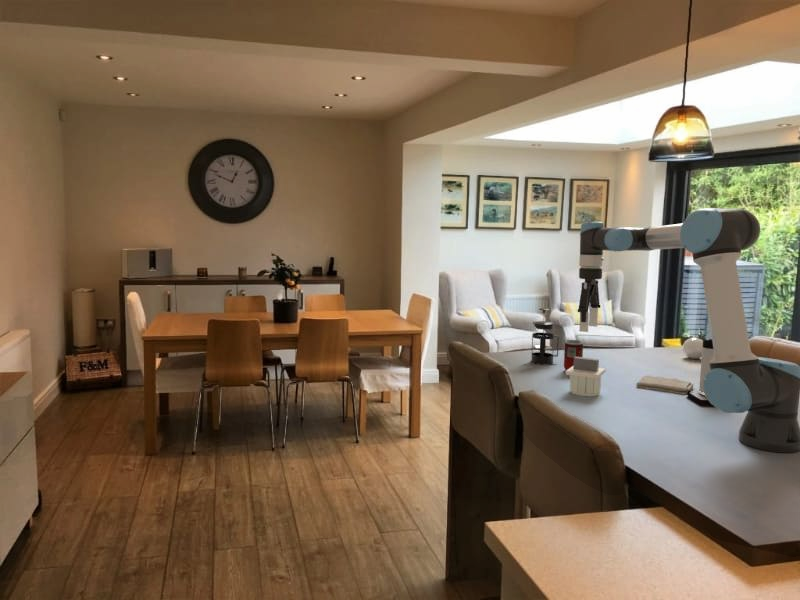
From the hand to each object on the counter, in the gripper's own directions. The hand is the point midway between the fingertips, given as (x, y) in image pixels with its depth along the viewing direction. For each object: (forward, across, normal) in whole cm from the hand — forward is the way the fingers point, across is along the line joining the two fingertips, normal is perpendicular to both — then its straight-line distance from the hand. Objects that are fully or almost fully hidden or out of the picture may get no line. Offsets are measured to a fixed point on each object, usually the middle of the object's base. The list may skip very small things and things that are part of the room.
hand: (588, 329), depth 221 cm
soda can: (+22, +30, +12) cm, 40 cm away
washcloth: (+23, +23, -23) cm, 40 cm away
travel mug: (+23, +20, -37) cm, 48 cm away
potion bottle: (+22, +84, -30) cm, 91 cm away
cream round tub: (+23, 0, +1) cm, 23 cm away
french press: (+22, +40, +28) cm, 54 cm away
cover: (+16, +1, +1) cm, 16 cm away
